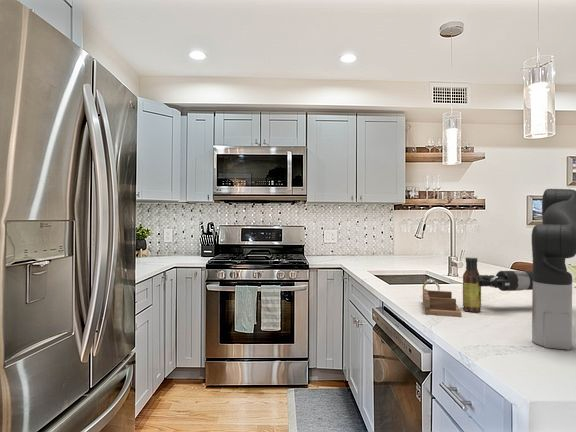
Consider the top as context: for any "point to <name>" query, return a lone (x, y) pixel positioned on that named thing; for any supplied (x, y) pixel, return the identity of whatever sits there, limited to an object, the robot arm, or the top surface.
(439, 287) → the ring
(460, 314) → the rack
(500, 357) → the top surface
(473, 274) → the sauce bottle
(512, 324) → the top surface
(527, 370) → the top surface
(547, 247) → the robot arm
